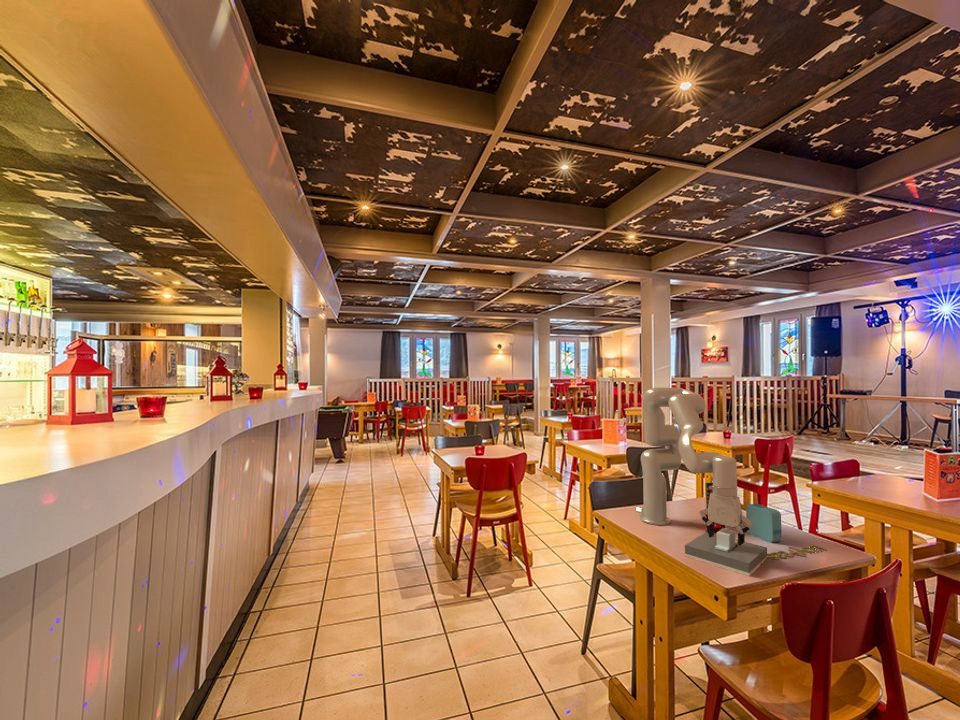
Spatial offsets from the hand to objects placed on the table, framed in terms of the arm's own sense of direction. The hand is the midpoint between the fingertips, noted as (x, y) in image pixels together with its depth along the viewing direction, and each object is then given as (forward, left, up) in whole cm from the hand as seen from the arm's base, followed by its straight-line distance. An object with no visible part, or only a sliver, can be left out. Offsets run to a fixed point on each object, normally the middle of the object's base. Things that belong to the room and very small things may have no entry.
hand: (725, 540), depth 150 cm
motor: (-17, +41, -6) cm, 45 cm away
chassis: (0, 0, -6) cm, 6 cm away
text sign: (+13, +18, -7) cm, 23 cm away
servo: (0, 0, -5) cm, 5 cm away
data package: (+3, +33, -6) cm, 34 cm away
